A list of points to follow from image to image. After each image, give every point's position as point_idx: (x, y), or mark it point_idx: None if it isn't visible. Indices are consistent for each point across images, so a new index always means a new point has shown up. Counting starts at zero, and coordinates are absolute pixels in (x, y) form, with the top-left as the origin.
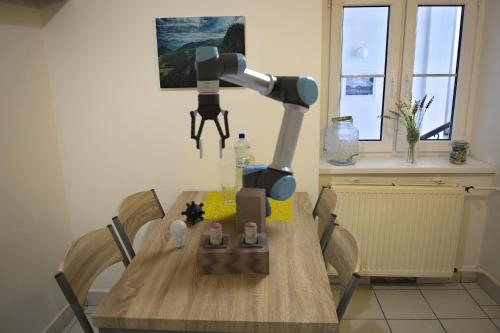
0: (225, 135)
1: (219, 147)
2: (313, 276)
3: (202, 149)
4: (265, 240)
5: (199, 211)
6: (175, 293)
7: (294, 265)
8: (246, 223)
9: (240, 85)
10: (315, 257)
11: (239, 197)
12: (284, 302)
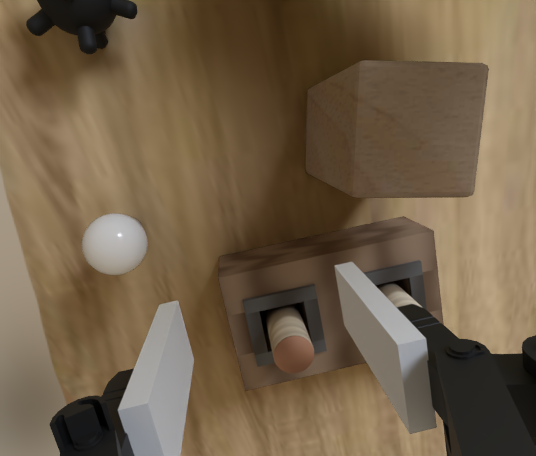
0: (531, 430)
1: (377, 379)
2: (516, 306)
3: (171, 346)
4: (430, 280)
5: (109, 9)
6: (220, 428)
7: (475, 266)
8: None
9: None
10: (531, 215)
11: (369, 197)
12: None
